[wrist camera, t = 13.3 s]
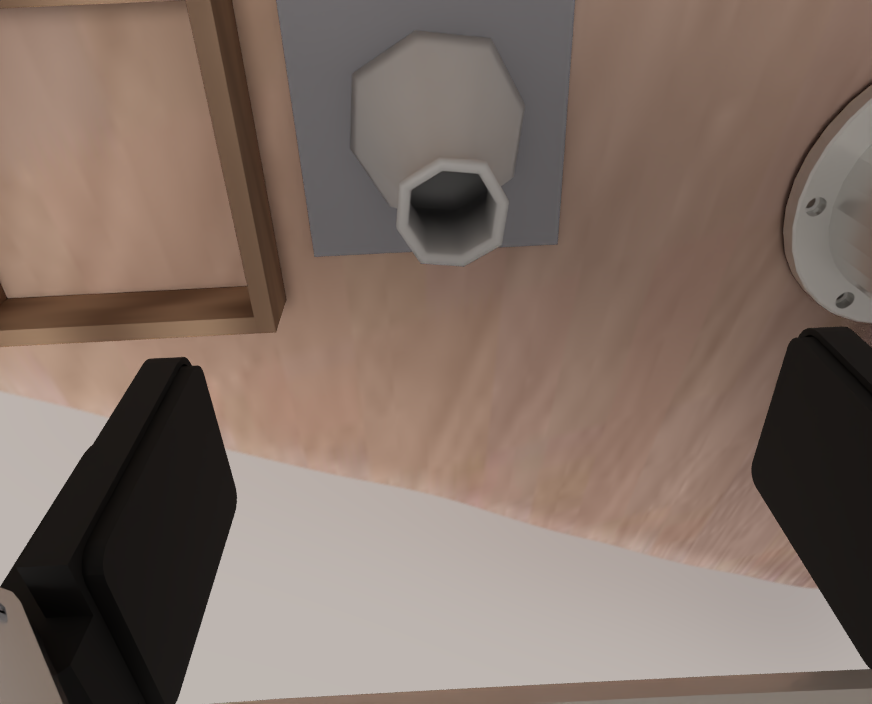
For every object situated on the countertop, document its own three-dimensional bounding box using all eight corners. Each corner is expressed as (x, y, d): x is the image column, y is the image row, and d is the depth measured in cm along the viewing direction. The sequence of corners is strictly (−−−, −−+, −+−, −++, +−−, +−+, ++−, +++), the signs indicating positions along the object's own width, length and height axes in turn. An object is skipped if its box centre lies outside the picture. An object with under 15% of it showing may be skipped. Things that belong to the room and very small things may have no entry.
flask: (509, 5, 24) (566, 43, 16) (536, 189, 28) (594, 299, 20) (322, 53, 25) (281, 116, 16) (374, 227, 29) (363, 350, 20)
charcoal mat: (575, -39, 24) (577, -39, 23) (555, 240, 30) (557, 244, 29) (274, -26, 24) (272, -26, 23) (315, 253, 30) (314, 256, 29)
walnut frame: (225, -34, 23) (204, -29, 21) (286, 299, 31) (276, 332, 28) (-158, -17, 23) (-226, -11, 21) (-4, 314, 31) (-41, 349, 28)
